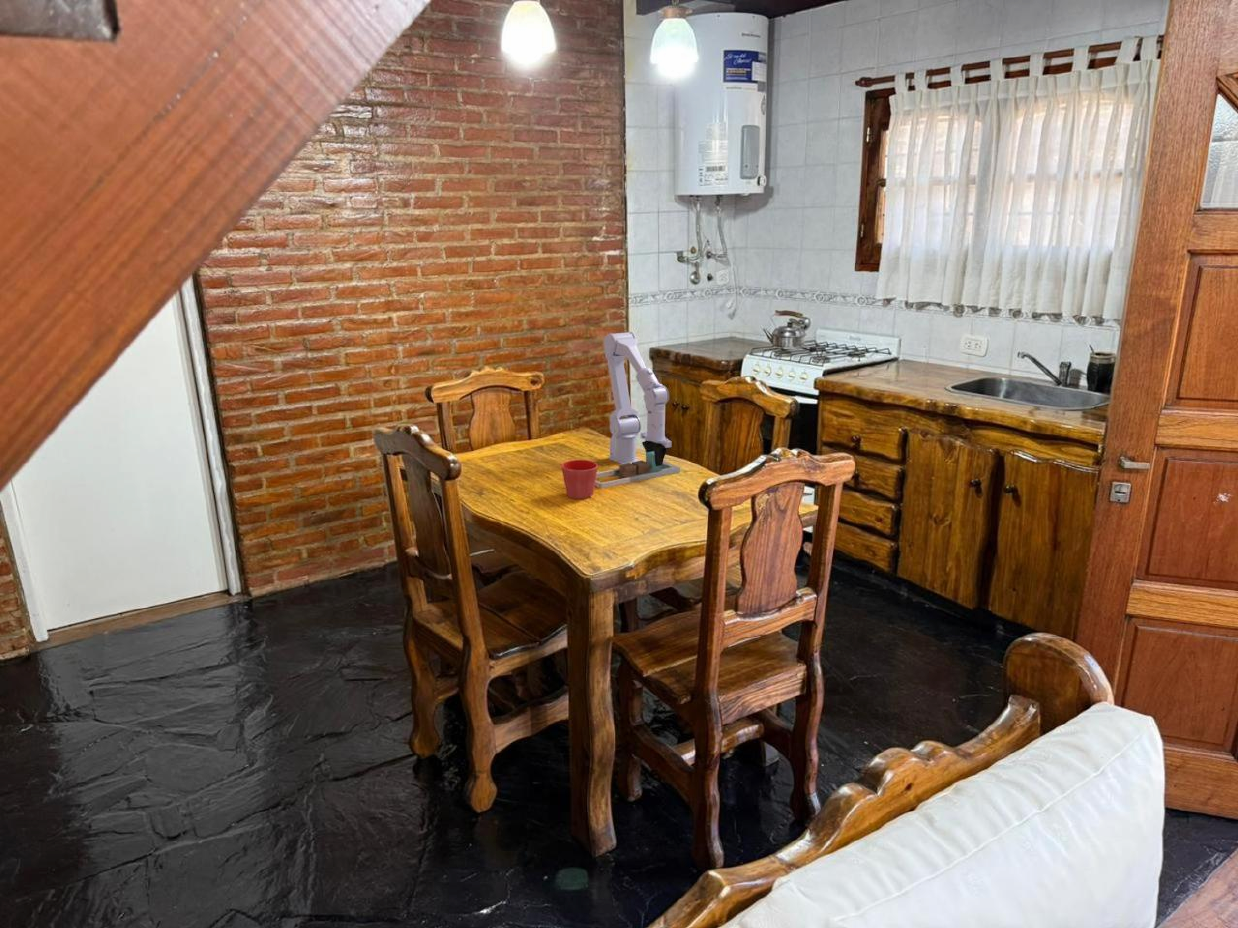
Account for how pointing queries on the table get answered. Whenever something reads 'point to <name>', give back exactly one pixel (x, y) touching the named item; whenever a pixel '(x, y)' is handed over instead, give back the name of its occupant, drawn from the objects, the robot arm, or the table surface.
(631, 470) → the brown boxy piece
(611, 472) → the tray
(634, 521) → the table surface
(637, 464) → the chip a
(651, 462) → the teal block
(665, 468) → the slot block
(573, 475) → the flower pot
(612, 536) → the table surface
